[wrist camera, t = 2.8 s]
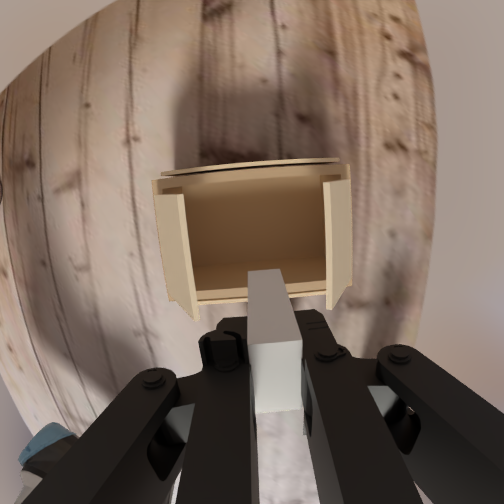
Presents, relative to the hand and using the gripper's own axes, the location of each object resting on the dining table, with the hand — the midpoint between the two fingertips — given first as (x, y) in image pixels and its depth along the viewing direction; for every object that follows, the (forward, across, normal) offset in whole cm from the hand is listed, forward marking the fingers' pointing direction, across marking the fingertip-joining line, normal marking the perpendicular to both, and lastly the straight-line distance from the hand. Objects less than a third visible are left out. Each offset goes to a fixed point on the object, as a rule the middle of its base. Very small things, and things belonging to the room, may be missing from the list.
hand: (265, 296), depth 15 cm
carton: (+26, 0, 0) cm, 26 cm away
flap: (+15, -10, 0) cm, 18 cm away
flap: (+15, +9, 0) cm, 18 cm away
